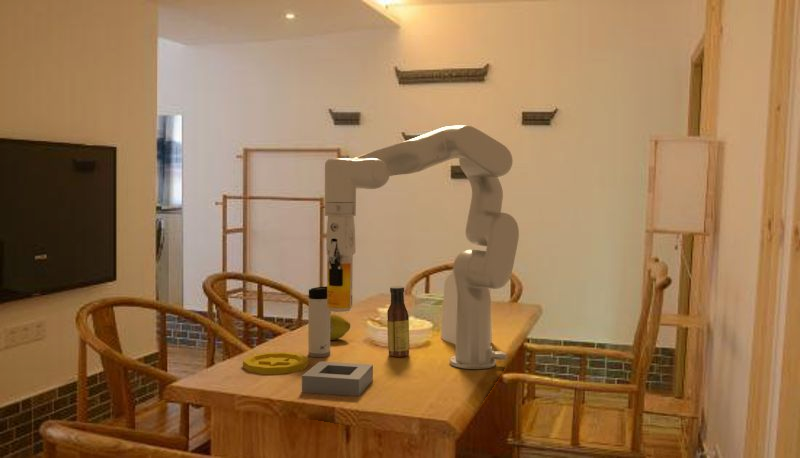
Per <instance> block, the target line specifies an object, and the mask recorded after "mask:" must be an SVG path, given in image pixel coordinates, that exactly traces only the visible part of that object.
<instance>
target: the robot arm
mask: <svg viewBox="0 0 800 458" xmlns="http://www.w3.org/2000/svg"><path fill="white" fill-rule="evenodd" d="M453 159H458V161H459V167H460V169H461V171H462V172H463V173H464V175H465V176H466V178H467V179H468V181H469V183H470V187H471V200H470V204H469V212H468V215H467V222H466V227H465V237H466V239H467V240H468V242H470V243H471V244H473V245H477V246H481V247H486V250H480V249H479V250H478V249H466V250H464V251H462V252H460V253H459V254H457V256H456V257H455V259H454V262H453V266H452V267H453V268H452V269H453V270H452V271H453V273H454V279H455V285H456V345H455V355H453V356H452V357H450V358H449V364H450V365H451V366H452V367H456V368H459V369H467V370H485V369H491V368H493V367H495V365H496V362H497V361H496V360H499V361H507V353H506V352H503V351H494V350H493V346H492V345H491V343H490V327H491V328H492V296H491V292H490V293H489V289H488V288H490V290H491V289H493V290H499V289H501V288H503V287H505V286H506V285H507V284H508V282H509V281H510V279H511V276H512V273H513V269H514V264H515V258H516V254H517V248H518V243H519V236H520V231H519V225H518V222H517V220H516V219H515V217H513V215H511V214H509V213H507V212H503V211H502V206H503V205H502V204H503V199H504V198H503V197H504V191H503V187H502V184H501V182H500V179H499V178H500V177H503V176H505V175H506V174H508V173H509V172H510V170H511V169H512V167H513V163H514V162H513V156H512V153H511V150H510V149H509V148H508V147H506V145H504V144H503V143H501V142H500V141H499V140H497V139H495V138H493V137H491V136H490V135H488V134H486V133H485V132H483V131H481V130H480V129H478V128H476V127H475V126H472V125H468V124H467V125H466V124H465V125H463V124H462V125H461V124H460V125H451V126H444V127H441V128H438V129H435V130H433V131H430V132H427V133H425V134H422V135H419V136H416V137H414V138H410V139H408V140H405V141H401V142H398V143H395V144H392V145H389V146H386V147H383V148H379V149H376V150H372V151H370V152H366V153H365V154H362V155H359V156H356V157H354V158H347V157H346V158H342V157H338V158H328V159H327V160H326V161H325V163H324V216H326V217H327V223H326V242H325V243H326V246H325V247H326V255H328V256H329V285H330V286H342V285H343V269H341V267H342V255H343V256H344V257H345V258H346V257H348V256H350V253H351V252H352V253H353V255H355V254H356V234H355V233H356V230H355V229H356V227H355V218H354V217H356V215H357V189H365V190H376V189H380V188H382V187H383V186H386V184H387V183H388V181H389V179H390V177H393V176H399V175H410V174H415V173H418V172H423V171H425V170H427V169H429V168H431V167H434V166H437V165H440V164H442V163H445V162H447V161H450V160H453ZM336 254H340V256H335V255H336ZM337 259H339V263H338V260H337ZM490 296H491V297H490Z"/></svg>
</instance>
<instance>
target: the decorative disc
mask: <svg viewBox="0 0 800 458" xmlns="http://www.w3.org/2000/svg"><path fill="white" fill-rule="evenodd" d="M309 360H310V359H309V358H308V357H307V356H305V355H303V354H302V353H296V352H295V353H294V352H287V351H279V352H278V351H274V352H271V351H270V352H262V353H257V354H252V355H248V356H247V357H245V359H243V360H242V368H244V370H246V371H248V372H249V373H250V372H251V373H255V374H256V373H257V374H263V375H278V373H281V374H290V373H293V372H294V371H295V372H298V370H299V371H302V370H305V368H307V366H308V365H309Z"/></svg>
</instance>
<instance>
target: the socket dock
mask: <svg viewBox="0 0 800 458" xmlns="http://www.w3.org/2000/svg"><path fill="white" fill-rule="evenodd" d="M373 380H374V364H370V363H368V364H367V363H355V362H353V363H352V362H338V361H323V360H320V361H319V362H317V363H316V364H315V365H313V366H311V368H310V369H309V370H307V371H306V372H304V373H303V374H301V393H305V394H306V393H308V394H319V395H320V394H321V395H322V394H324V395H334V396H335V395H337V396H350V397H351V396H352V397H360V396H361V394H363V392H364V391H366V389H367V388H368V387H369V385H371V383H372V381H373Z"/></svg>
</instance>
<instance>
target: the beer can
mask: <svg viewBox="0 0 800 458" xmlns="http://www.w3.org/2000/svg"><path fill="white" fill-rule="evenodd" d="M326 255H327V254H326ZM353 255H354V254H353V253H352V252H351V253H350V256H348V257H346V258H345V257H344V256H343V255H342V267H341V269H343V285H342V286H330V285H329V256H328V255H327V257H326V259H327V260H326V261H327V263H326V264H327V265H326V267H327V271H326V272H327V273H326V274H327V275H326V277H327V278H326V281H327V282H326V283H327V285H326V286H327V307H328V308H329V310H330V312H334V313H337V312H338V313H341V312H342V313H345V312H349V311H351V309H352V308H353V269H354V268H353V262H354V261H353V257H354V256H353ZM335 256H340V254H336V255H335ZM337 260H338V263H339V259H337Z"/></svg>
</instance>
